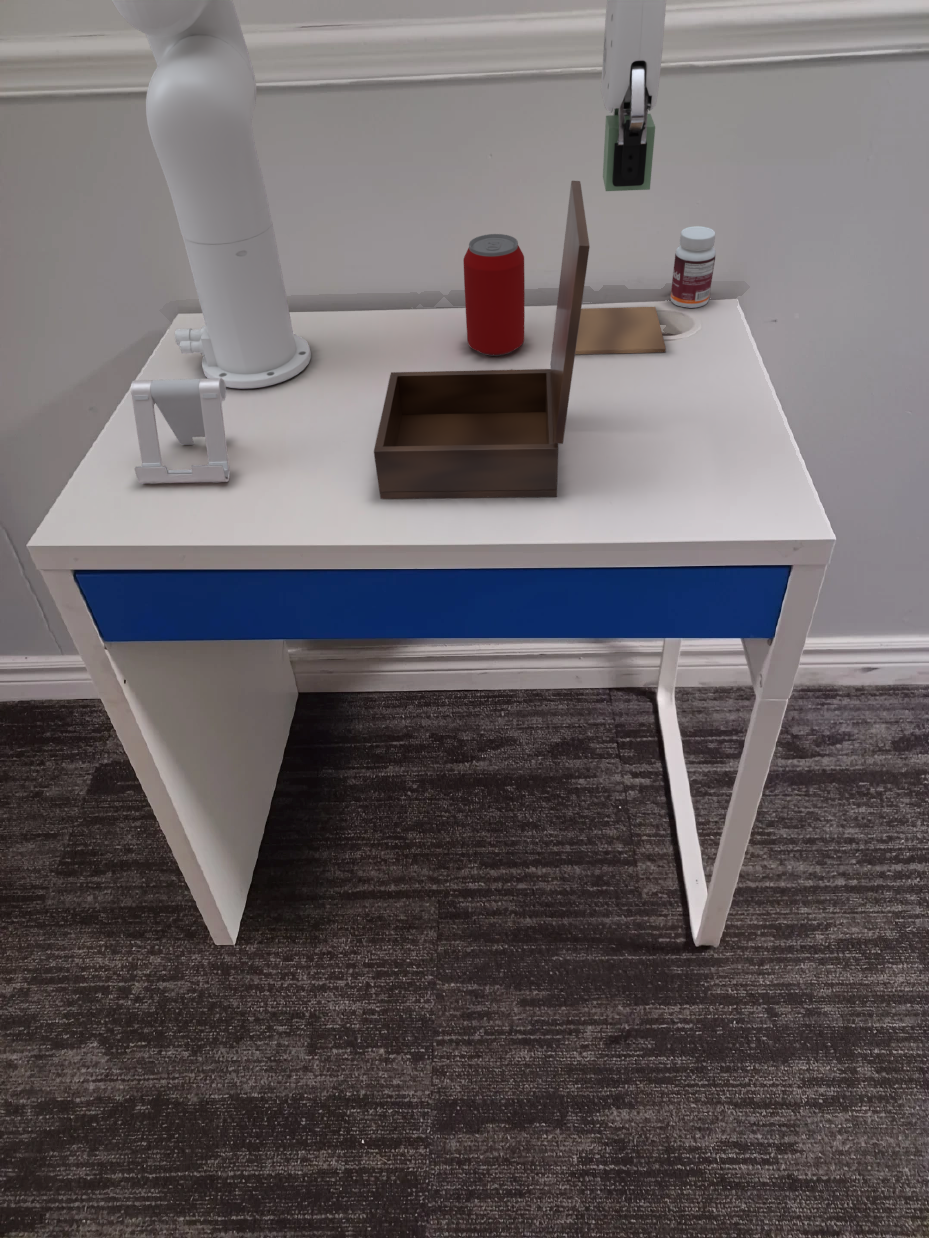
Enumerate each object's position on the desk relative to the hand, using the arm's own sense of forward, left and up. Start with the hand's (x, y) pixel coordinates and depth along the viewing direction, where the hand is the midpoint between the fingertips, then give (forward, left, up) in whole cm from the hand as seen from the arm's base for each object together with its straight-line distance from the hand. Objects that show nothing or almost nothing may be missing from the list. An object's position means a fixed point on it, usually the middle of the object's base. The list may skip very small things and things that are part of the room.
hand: (625, 174), depth 94 cm
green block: (0, 0, -1) cm, 1 cm away
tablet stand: (-44, -27, -18) cm, 55 cm away
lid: (-7, -26, -3) cm, 27 cm away
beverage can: (-14, -3, -18) cm, 23 cm away
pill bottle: (+10, +8, -18) cm, 22 cm away
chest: (-16, -26, -18) cm, 35 cm away
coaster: (0, 0, -18) cm, 18 cm away
